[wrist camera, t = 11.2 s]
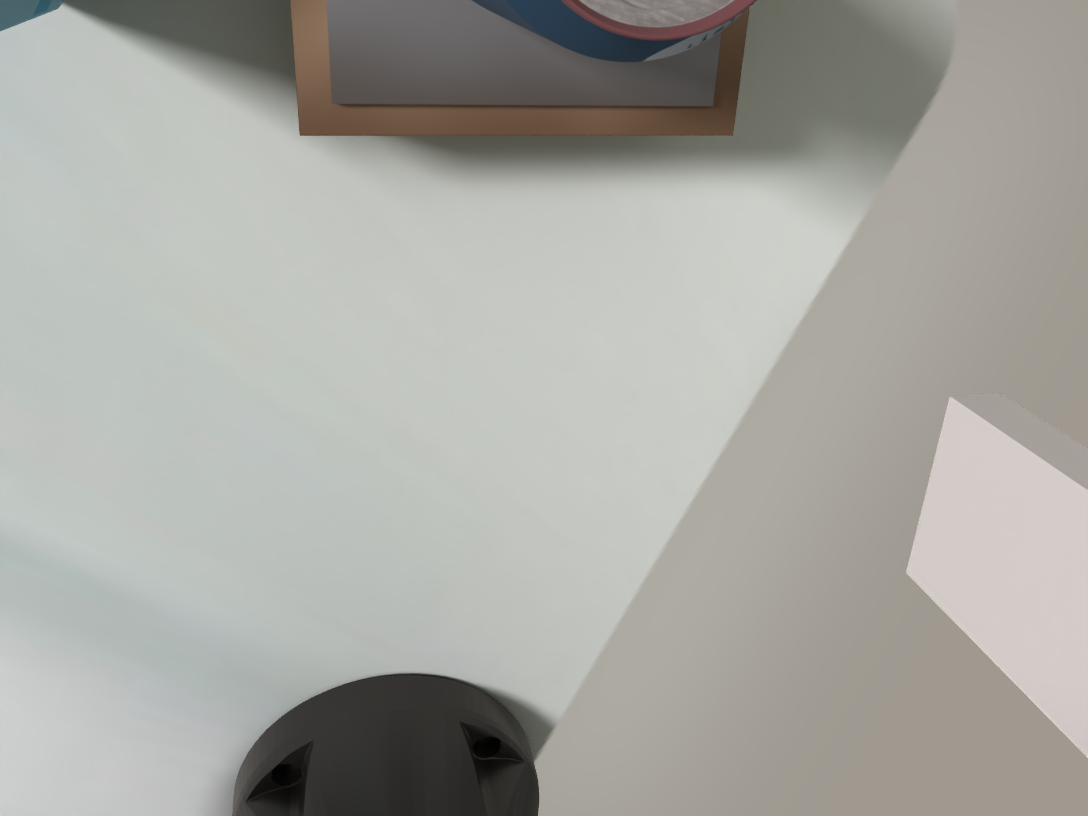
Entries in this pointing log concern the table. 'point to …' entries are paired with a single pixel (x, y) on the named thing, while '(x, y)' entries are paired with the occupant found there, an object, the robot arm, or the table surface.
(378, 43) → the pedestal
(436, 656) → the table surface
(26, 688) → the table surface
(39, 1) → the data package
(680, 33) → the soda can
